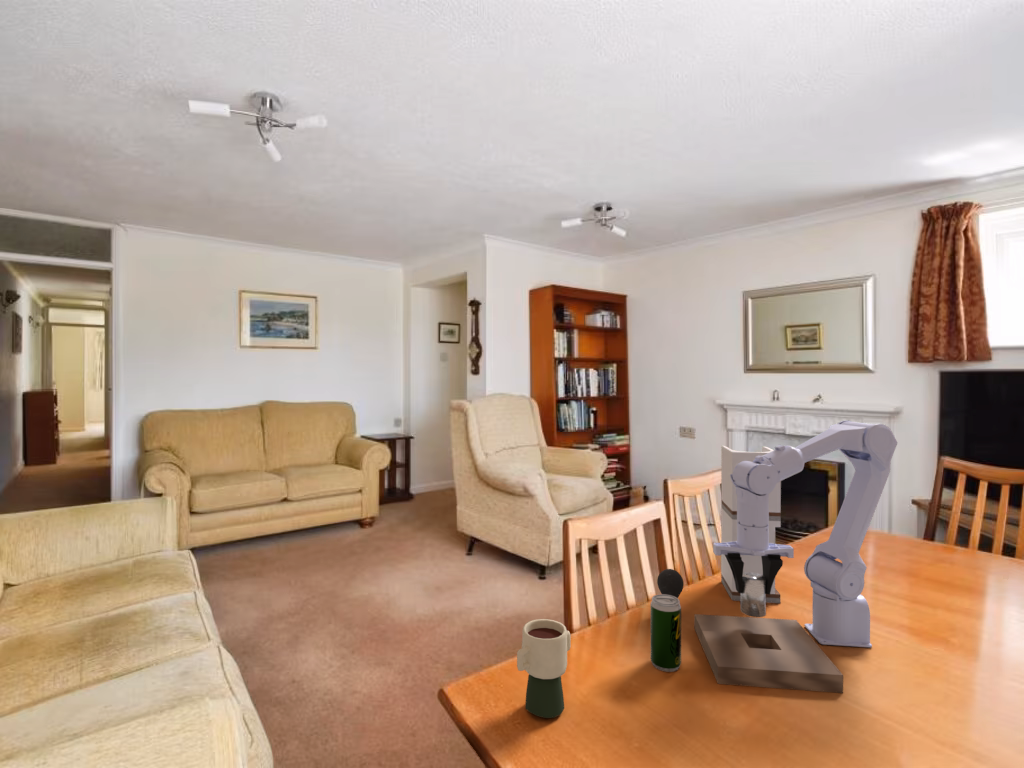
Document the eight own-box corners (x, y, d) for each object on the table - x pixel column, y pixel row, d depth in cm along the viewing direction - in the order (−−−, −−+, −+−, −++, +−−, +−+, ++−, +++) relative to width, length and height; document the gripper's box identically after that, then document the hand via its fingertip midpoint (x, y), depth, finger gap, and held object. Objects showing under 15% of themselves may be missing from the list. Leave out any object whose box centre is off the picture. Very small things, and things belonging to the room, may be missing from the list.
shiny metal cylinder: (761, 607, 106) (760, 572, 106) (769, 617, 101) (768, 581, 101) (737, 606, 106) (737, 572, 106) (744, 616, 102) (744, 580, 102)
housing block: (796, 634, 108) (796, 619, 108) (843, 692, 88) (843, 675, 88) (694, 628, 111) (694, 614, 111) (717, 683, 91) (717, 666, 91)
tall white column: (780, 603, 122) (780, 453, 122) (732, 600, 124) (732, 452, 124) (765, 584, 134) (765, 446, 133) (721, 581, 136) (721, 445, 135)
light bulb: (685, 621, 114) (685, 575, 114) (658, 619, 115) (658, 573, 115) (682, 609, 119) (682, 566, 119) (656, 607, 120) (656, 564, 120)
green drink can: (649, 670, 95) (649, 604, 95) (651, 654, 100) (651, 592, 100) (681, 674, 94) (681, 607, 93) (681, 659, 99) (681, 595, 98)
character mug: (555, 686, 90) (555, 611, 90) (585, 707, 85) (585, 627, 84) (503, 711, 84) (503, 630, 83) (532, 736, 78) (532, 648, 78)
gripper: (719, 528, 101) (719, 598, 101) (800, 530, 99) (800, 602, 99) (710, 518, 108) (710, 584, 108) (785, 519, 106) (785, 587, 106)
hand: (752, 591), depth 104 cm, fingers closed on shiny metal cylinder, 4 cm apart
